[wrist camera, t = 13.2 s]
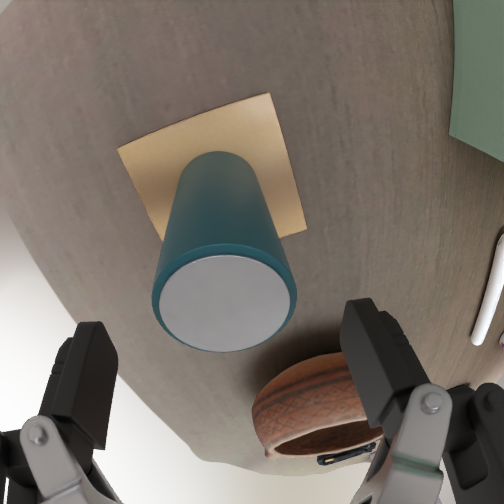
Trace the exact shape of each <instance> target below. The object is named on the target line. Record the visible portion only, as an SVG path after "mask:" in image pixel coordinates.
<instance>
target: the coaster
mask: <svg viewBox="0 0 504 504" xmlns="http://www.w3.org/2000/svg"><path fill="white" fill-rule="evenodd" d="M117 150H118V152H119V154H120V156H121V159H122V161H123V163H124V165H125V167H126V169H127V172H128V174H129V176H130V178H131V180H132V182H133V184H134V186H135V188H136V190H137V193H138V195H139V197H140V199H141V201H142V203H143V205H144V207H145V209H146V211H147V213H148V215H149V217H150V219H151V221H152V223H153V225H154V227H155V229H156V231H157V233H158V235H159V236H160V238H161V240H162V242H163V240H164V236H165V232H166V228H167V224H168V220H169V216H170V212H171V208H172V204H173V200H174V197H175V193H176V189H177V186H178V182H179V179H180V176H181V174H182V172H183V170H184V169H185V167H186V166H187V165H188V164H189V163H190V162H191V161H192V160H193V159H195V158H196V157H198V156H200V155H202V154H204V153H208V152H213V151H225V152H230V153H233V154H236V155H238V156H240V157H241V158H243V159H244V160H245V161H246V162H248V163H249V165H250V166H251V167H252V168H253V170H254V172H255V174H256V177H257V179H258V182H259V185H260V187H261V190H262V193H263V195H264V198H265V201H266V203H267V206H268V209H269V211H270V214H271V217H272V220H273V222H274V225H275V228H276V231H277V233H278V236H279V238H281V237H284V236H287V235H290V234H293V233H297V232H300V231H303V230H306V229H307V226H306V222H305V217H304V213H303V209H302V205H301V201H300V198H299V194H298V190H297V186H296V182H295V178H294V175H293V171H292V167H291V163H290V160H289V156H288V153H287V149H286V145H285V142H284V138H283V135H282V131H281V128H280V124H279V121H278V118H277V114H276V111H275V108H274V104H273V101H272V98H271V94H270V92H266V93H263V94H259V95H256V96H253V97H249V98H246V99H243V100H240V101H236V102H233V103H230V104H227V105H224V106H221V107H218V108H215V109H212V110H209V111H206V112H204V113H201V114H198V115H195V116H193V117H190V118H187V119H185V120H182V121H179V122H177V123H174V124H172V125H169V126H167V127H164V128H162V129H159V130H157V131H155V132H152V133H150V134H147V135H145V136H143V137H141V138H138V139H136V140H134V141H132V142H129V143H127V144H125V145H123V146H121V147H119V148H118V149H117Z"/></svg>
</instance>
